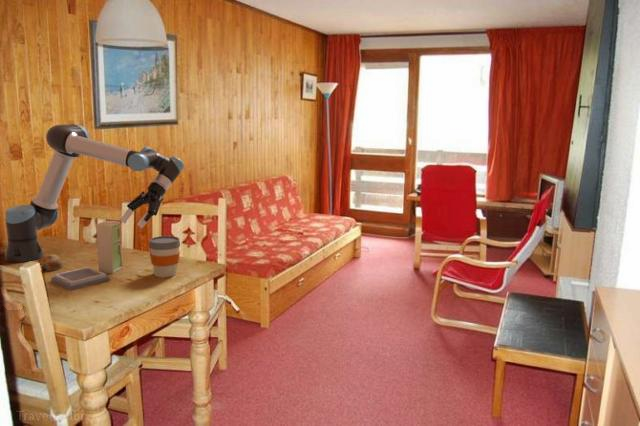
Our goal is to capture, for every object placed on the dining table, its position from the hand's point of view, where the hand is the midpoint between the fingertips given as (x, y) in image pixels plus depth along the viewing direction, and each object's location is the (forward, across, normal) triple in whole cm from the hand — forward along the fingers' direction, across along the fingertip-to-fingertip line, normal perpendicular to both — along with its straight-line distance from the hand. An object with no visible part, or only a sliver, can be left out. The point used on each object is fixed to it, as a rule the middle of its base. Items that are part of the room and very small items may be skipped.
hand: (130, 224), depth 221 cm
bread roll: (+32, +22, +5) cm, 39 cm away
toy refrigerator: (+20, 0, -7) cm, 21 cm away
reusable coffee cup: (+11, -20, -16) cm, 28 cm away
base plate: (+31, -2, +4) cm, 31 cm away
